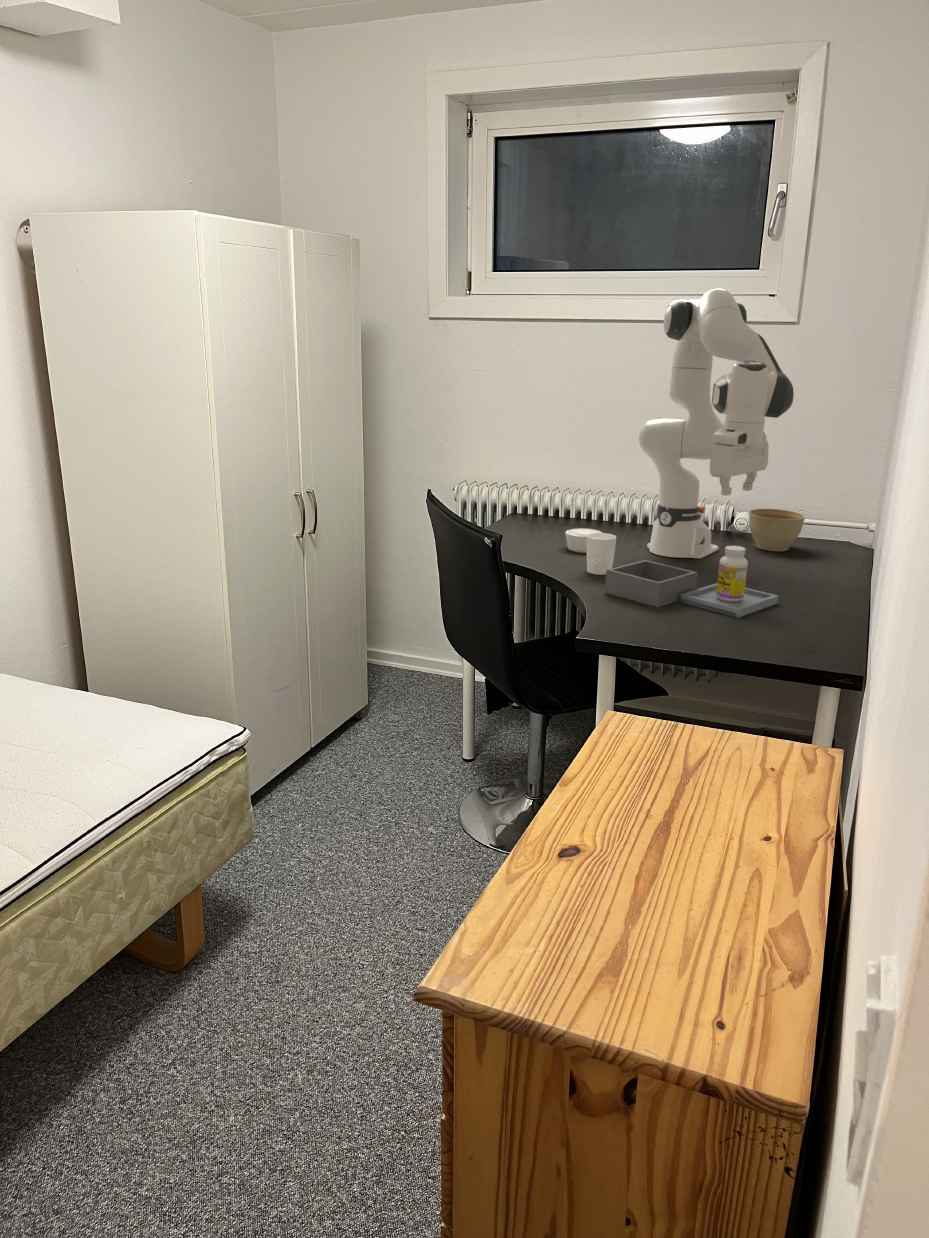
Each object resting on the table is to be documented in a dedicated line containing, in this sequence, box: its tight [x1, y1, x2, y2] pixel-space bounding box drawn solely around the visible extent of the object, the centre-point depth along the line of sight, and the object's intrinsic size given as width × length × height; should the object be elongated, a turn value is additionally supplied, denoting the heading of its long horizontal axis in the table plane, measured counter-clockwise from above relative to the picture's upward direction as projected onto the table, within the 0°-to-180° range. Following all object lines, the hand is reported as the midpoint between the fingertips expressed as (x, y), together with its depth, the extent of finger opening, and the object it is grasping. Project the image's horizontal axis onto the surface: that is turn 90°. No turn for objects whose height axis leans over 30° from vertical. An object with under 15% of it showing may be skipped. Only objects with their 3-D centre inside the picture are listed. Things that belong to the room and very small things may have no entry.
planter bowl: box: [748, 508, 806, 552], centre depth 278 cm, size 16×16×11 cm
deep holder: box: [604, 559, 698, 608], centre depth 228 cm, size 16×16×6 cm
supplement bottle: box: [716, 545, 749, 602], centre depth 221 cm, size 7×7×13 cm
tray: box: [679, 582, 779, 619], centre depth 223 cm, size 18×16×2 cm
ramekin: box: [564, 527, 603, 554], centre depth 273 cm, size 11×11×5 cm
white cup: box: [586, 532, 617, 576], centre depth 247 cm, size 8×8×10 cm
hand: (736, 492), depth 216 cm, fingers open, 8 cm apart
